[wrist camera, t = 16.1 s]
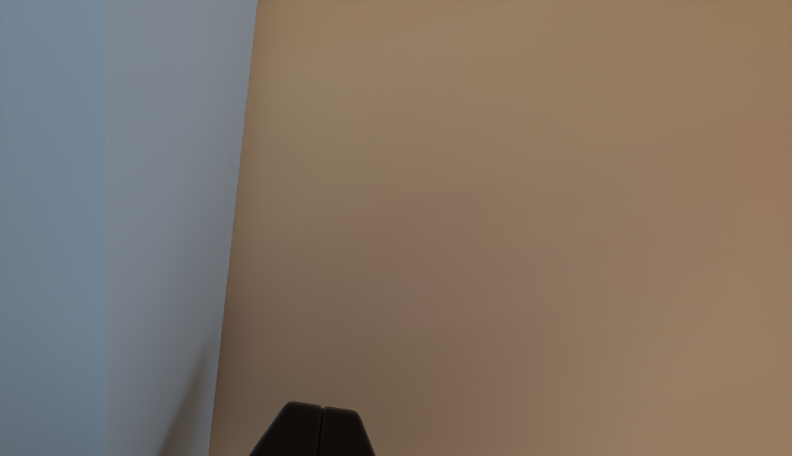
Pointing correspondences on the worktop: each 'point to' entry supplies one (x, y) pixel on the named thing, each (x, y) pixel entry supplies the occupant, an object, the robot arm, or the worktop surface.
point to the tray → (116, 219)
